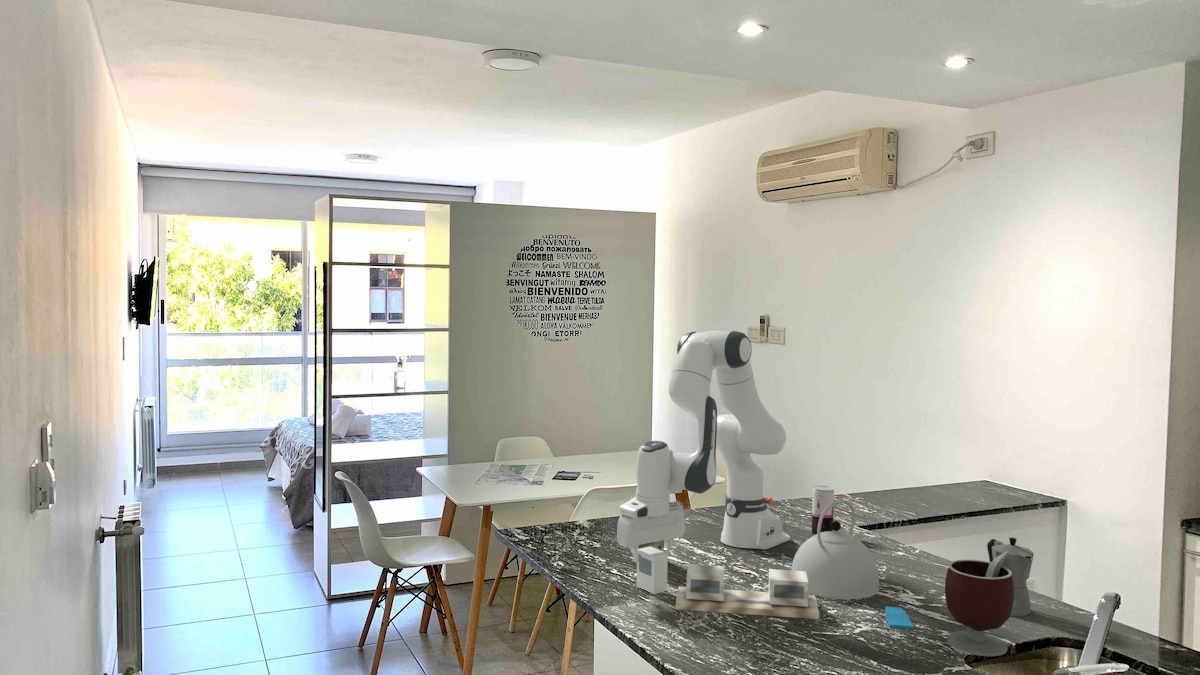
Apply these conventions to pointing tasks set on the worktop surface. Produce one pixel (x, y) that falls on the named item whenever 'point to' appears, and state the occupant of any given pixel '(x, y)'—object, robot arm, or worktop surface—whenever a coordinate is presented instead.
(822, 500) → the beverage can
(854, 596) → the kettle
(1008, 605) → the mate gourd
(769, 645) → the worktop surface
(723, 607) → the rail board
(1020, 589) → the coffeepot
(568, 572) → the worktop surface
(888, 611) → the sponge
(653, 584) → the block
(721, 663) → the worktop surface
